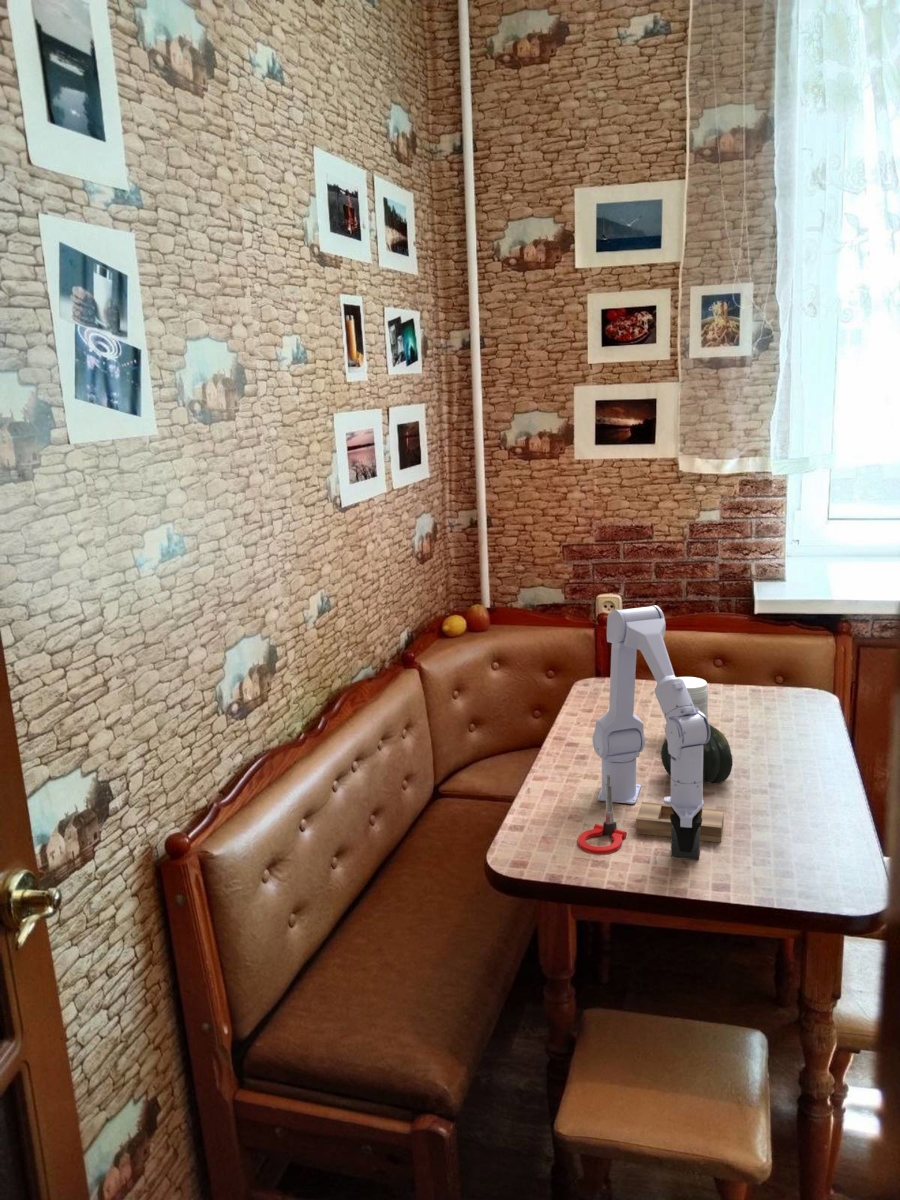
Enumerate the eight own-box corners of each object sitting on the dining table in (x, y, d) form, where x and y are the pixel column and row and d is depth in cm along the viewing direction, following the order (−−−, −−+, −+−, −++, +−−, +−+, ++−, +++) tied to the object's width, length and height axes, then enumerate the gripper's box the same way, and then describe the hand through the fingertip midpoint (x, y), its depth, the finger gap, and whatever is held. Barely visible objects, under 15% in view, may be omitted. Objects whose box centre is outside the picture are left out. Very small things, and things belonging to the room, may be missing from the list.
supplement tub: (715, 738, 234) (716, 681, 231) (693, 749, 228) (694, 690, 225) (680, 729, 241) (681, 673, 238) (659, 740, 235) (659, 682, 232)
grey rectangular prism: (672, 849, 181) (673, 820, 180) (700, 852, 179) (700, 822, 178) (671, 857, 178) (671, 827, 177) (698, 860, 176) (699, 830, 175)
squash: (735, 776, 199) (730, 708, 206) (661, 775, 202) (659, 709, 209) (732, 796, 211) (727, 732, 218) (662, 796, 214) (660, 732, 222)
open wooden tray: (641, 815, 195) (641, 801, 195) (723, 823, 190) (723, 809, 189) (636, 833, 188) (636, 818, 187) (721, 842, 183) (721, 827, 182)
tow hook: (609, 860, 179) (631, 838, 186) (607, 797, 176) (629, 777, 183) (569, 849, 184) (593, 828, 191) (566, 787, 181) (590, 768, 188)
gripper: (665, 761, 183) (664, 827, 186) (663, 792, 169) (662, 863, 172) (703, 763, 181) (702, 829, 184) (704, 795, 168) (703, 866, 171)
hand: (685, 846), depth 178 cm, fingers closed on grey rectangular prism, 3 cm apart
